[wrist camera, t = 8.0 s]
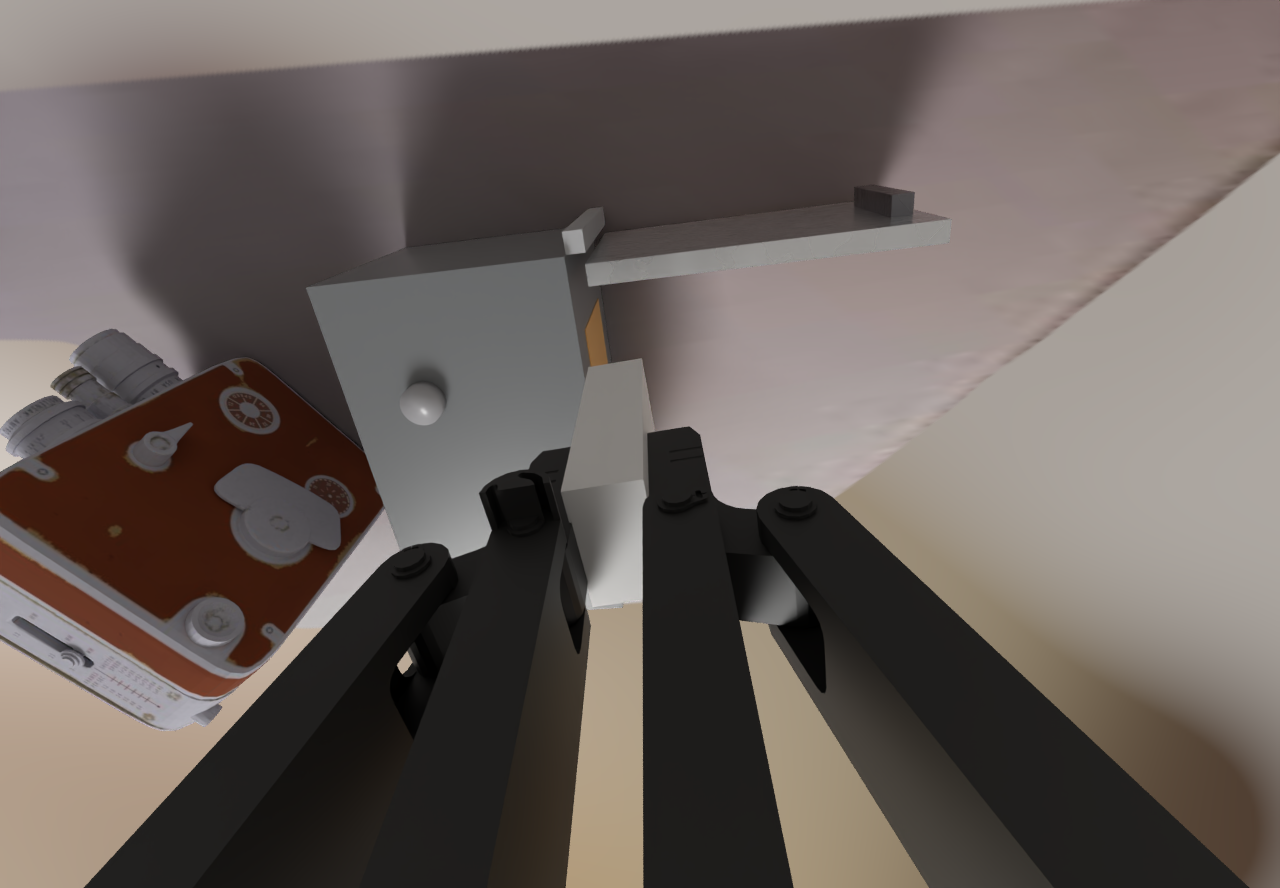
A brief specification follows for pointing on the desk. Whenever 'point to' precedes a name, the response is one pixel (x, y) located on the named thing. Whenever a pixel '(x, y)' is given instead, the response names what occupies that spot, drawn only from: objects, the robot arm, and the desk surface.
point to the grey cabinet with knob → (464, 368)
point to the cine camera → (170, 526)
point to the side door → (768, 238)
